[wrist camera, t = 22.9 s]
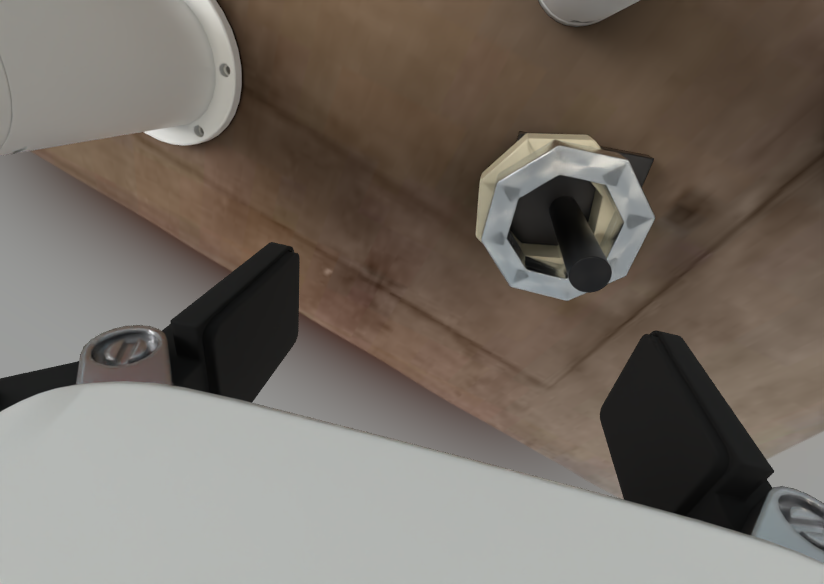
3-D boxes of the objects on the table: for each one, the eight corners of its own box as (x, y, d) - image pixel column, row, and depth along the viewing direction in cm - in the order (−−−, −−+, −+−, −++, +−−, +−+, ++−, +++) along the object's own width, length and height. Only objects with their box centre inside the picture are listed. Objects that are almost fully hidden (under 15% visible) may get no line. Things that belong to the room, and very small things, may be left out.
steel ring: (472, 263, 30) (470, 277, 28) (510, 129, 25) (510, 134, 23) (601, 294, 29) (608, 311, 27) (665, 162, 24) (680, 170, 22)
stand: (488, 245, 33) (479, 326, 23) (519, 131, 28) (526, 165, 18) (599, 269, 32) (643, 366, 22) (649, 155, 28) (735, 207, 17)
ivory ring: (474, 258, 33) (472, 270, 30) (484, 132, 28) (483, 136, 26) (600, 268, 31) (606, 282, 29) (633, 135, 26) (644, 141, 24)
